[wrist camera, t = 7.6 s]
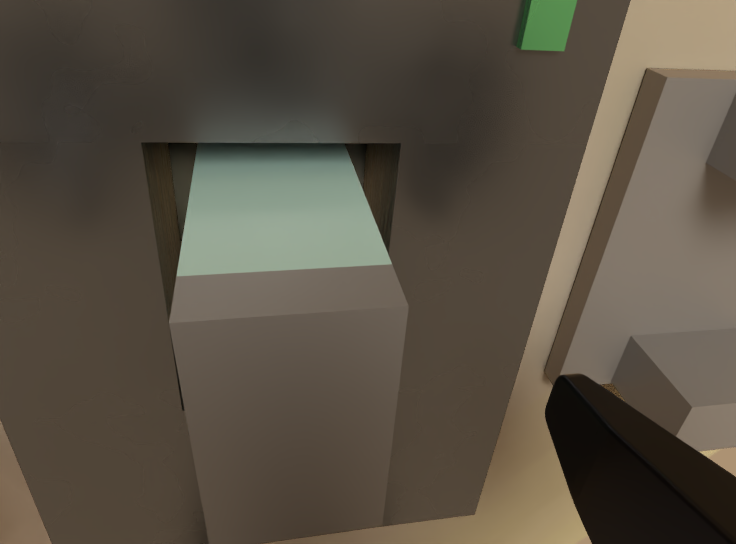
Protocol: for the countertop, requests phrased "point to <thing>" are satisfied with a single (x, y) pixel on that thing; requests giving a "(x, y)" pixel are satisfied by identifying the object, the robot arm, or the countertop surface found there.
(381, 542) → the countertop surface
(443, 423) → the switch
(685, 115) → the holster
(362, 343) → the plug
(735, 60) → the countertop surface
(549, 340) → the countertop surface
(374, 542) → the countertop surface
